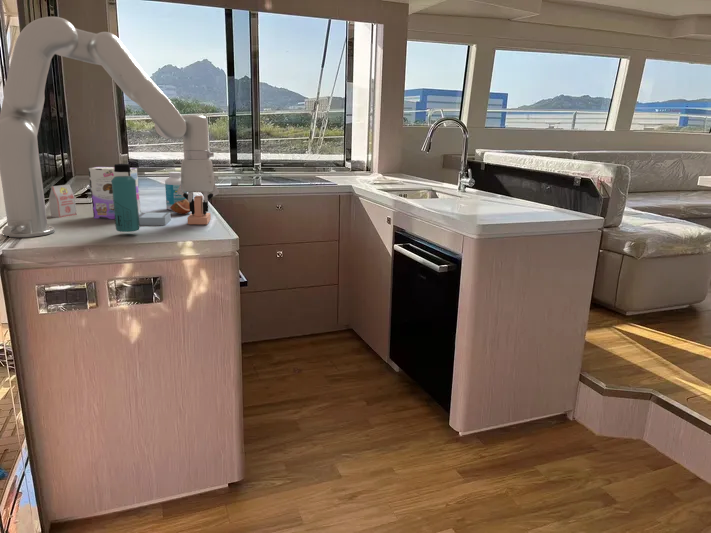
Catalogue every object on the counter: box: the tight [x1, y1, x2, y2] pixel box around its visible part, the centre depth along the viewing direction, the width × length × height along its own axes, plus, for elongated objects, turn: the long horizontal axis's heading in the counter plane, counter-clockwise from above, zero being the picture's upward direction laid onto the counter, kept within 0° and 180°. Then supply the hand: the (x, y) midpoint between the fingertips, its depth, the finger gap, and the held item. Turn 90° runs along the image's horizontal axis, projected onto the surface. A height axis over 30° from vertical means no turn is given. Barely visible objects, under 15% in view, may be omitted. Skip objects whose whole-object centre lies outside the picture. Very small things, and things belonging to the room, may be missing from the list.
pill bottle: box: [164, 171, 188, 211], centre depth 195 cm, size 8×7×14 cm
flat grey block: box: [139, 212, 172, 226], centre depth 171 cm, size 9×11×2 cm
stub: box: [186, 195, 212, 225], centre depth 172 cm, size 9×6×8 cm, turn 8°
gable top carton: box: [48, 184, 78, 219], centre depth 177 cm, size 4×7×10 cm, turn 158°
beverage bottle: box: [111, 163, 141, 233], centre depth 150 cm, size 6×7×20 cm
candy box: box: [87, 166, 142, 220], centre depth 175 cm, size 14×6×16 cm, turn 84°
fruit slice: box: [170, 199, 191, 215], centre depth 187 cm, size 8×7×5 cm
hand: (199, 213), depth 172 cm, fingers open, 3 cm apart
